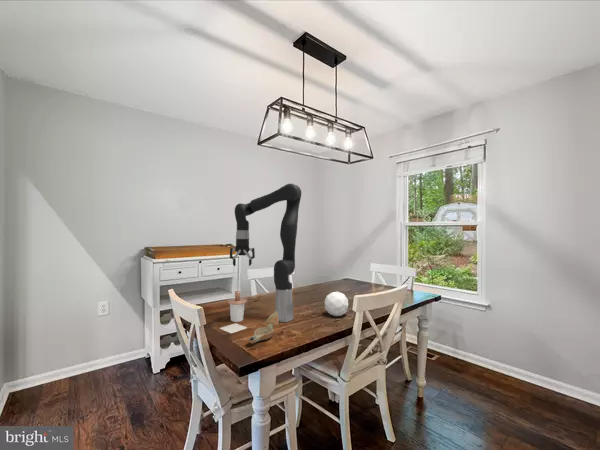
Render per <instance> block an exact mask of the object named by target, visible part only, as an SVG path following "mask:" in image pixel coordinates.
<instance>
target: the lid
mask: <svg viewBox="0 0 600 450" xmlns="http://www.w3.org/2000/svg"><path fill="white" fill-rule="evenodd" d="M227 303H228V305H230V304H233V305H239V304H244V305H245V304H246V303H247V299H246V298H241V291H240V290H235V291H234V298H231V299H228V300H227Z"/></svg>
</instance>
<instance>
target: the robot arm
mask: <svg viewBox="0 0 600 450" xmlns="http://www.w3.org/2000/svg"><path fill="white" fill-rule="evenodd" d="M301 198H302V189H301V188H300V186H299V185H297V184H294V183H287V184H285V185H283V186H281V187H280V188H278V189H276V190H274V191H272V192H270V193H268V194H265V195H262V196H260V197H256V198H255V199H252V200H250V202H248V203H238V204H236V205H235V207H234V216H235V221H236V232H235V248H234V247H231V248H230V249H229V259H232V265H233V266H234V267H236V261H237V260H236V258H237V257H238V256H246V257H248V266H249V267H250V266H252V264H253V262H252V261H253V259H255V258H256V257H255V254H256V253H255V247H251V248H250V222H249V220H247V217H248V216H251V215H252V214H254V213H256V212H259V211H261V210H265V209H267V208H269V207H272V205H275V204H277V203H279V202H283V201H286V207H285V208H286V209H285V211H284V214H283V217H282V220H281V223H280V224H281V225H280V232H279V236H280V237H279V238H280V241H281V245H282V248H283V254H282V259H280V260H276V262H275V263H274V266H273V280H274V281H273V282H274V285H275V302H274V303H275V306H274V307H275V309H274V312H275V311H277V313H278V323H279V322H281V323H288V322H291V321H293V320H294V302H293V283H292V282H290V280H289V276H291V275H292V274H293V273H294V272H295V268H296V246H297V245H296V241H297V235H298V221H299V210H300V209H299V208H300V203H301ZM233 252H235V255H234V256H233ZM249 252H251V253H252V255H251V254H250V253H249Z"/></svg>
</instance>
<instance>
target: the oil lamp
mask: <svg viewBox="0 0 600 450" xmlns="http://www.w3.org/2000/svg"><path fill="white" fill-rule="evenodd" d="M264 323H265V324H267V326H263V327H259V328H256V329H255V330H254V332H253V334H254V335H251V336H249V337H248V340H247V341H248V342H249V343H250V344H255V343H257V342H260V341H265V340H266V341H267V340H269V339H271V338H272V337H273V334H274V333H275V330H274V326H278V325H279V321H278V313H277V311H275V310H274V312H273V313H272V314H271V315H269V317H268V318H267V319H266V321H265V322H264Z"/></svg>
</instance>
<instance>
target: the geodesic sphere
mask: <svg viewBox="0 0 600 450" xmlns="http://www.w3.org/2000/svg"><path fill="white" fill-rule="evenodd" d="M323 302H324V309H325V311H327V313H328V314H329V315H331V316H333V317H340V316H343V315H344V314H346V313H347V310H348V308H349V299H348V298H347V296H346V295H345V293H342V291H334V292H333V291H331V292H330V293H329V294H327V295H326V297H325V299H324V301H323Z"/></svg>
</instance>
